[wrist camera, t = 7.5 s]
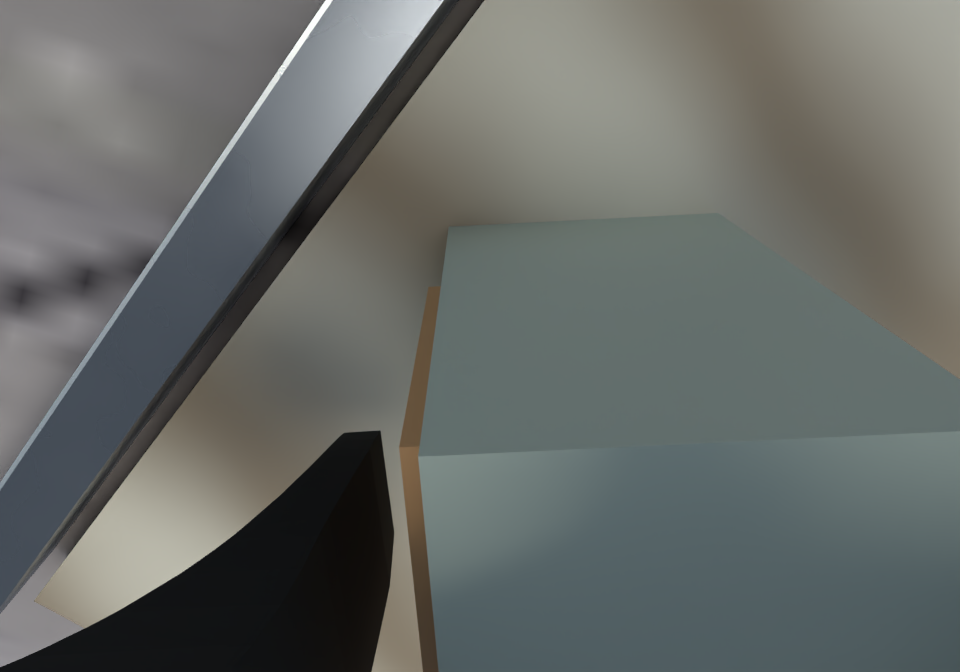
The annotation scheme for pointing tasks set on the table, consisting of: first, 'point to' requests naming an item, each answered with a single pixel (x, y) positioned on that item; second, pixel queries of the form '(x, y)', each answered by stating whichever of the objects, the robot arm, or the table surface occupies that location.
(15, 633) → the table surface
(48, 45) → the table surface
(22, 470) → the rail
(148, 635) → the robot arm
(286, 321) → the shelf board
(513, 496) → the carton
